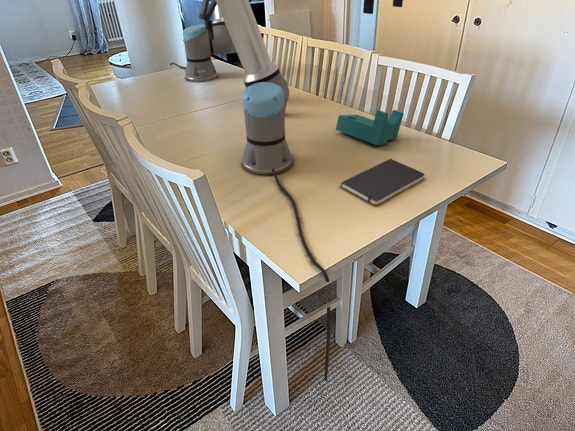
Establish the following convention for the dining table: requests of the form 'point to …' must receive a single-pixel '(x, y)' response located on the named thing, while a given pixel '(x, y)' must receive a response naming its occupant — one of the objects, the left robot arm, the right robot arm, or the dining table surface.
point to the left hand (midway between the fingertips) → (226, 36)
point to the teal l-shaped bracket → (371, 126)
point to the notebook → (382, 181)
